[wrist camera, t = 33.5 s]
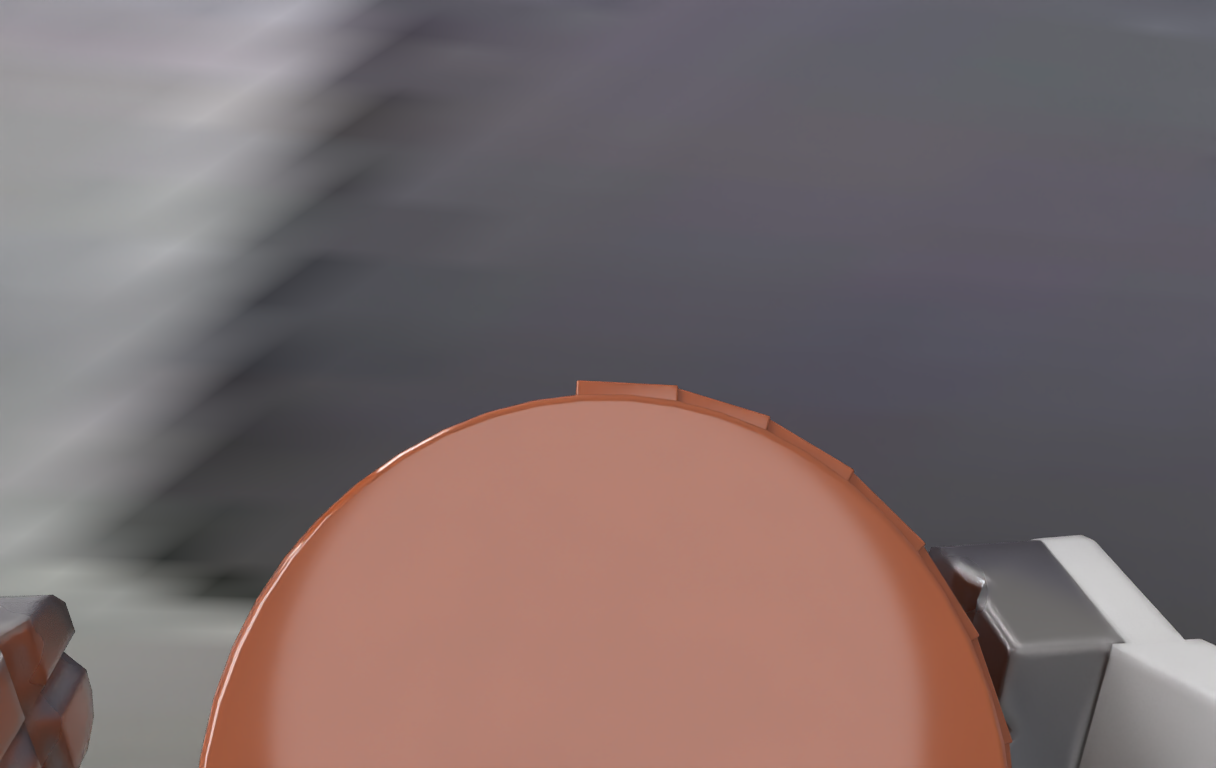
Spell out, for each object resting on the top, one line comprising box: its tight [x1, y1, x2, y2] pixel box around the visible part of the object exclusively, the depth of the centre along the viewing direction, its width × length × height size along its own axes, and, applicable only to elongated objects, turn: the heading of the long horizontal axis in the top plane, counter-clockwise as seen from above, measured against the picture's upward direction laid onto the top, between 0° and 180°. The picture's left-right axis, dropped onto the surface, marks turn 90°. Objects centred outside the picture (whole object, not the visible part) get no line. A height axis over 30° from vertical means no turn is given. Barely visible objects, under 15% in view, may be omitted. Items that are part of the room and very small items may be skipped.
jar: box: [199, 380, 1012, 768], centre depth 10 cm, size 6×6×10 cm
